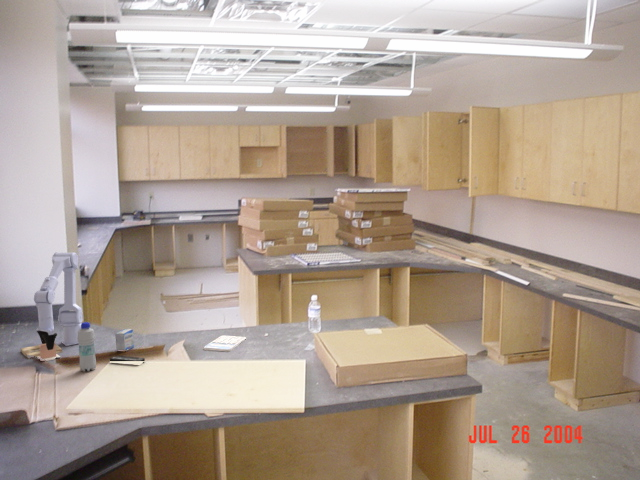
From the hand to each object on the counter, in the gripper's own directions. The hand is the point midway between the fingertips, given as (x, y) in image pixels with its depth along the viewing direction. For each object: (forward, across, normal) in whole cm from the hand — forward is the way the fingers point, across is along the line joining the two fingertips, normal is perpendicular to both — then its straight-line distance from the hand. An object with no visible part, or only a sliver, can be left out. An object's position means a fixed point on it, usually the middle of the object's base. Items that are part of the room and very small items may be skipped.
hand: (47, 347), depth 246 cm
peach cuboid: (+4, 0, 0) cm, 4 cm away
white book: (+6, +36, +68) cm, 77 cm away
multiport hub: (+5, +30, +24) cm, 39 cm away
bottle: (+5, +28, +8) cm, 30 cm away
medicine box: (+5, +11, +30) cm, 32 cm away
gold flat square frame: (+5, -12, 0) cm, 13 cm away
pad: (+5, 0, 0) cm, 5 cm away
